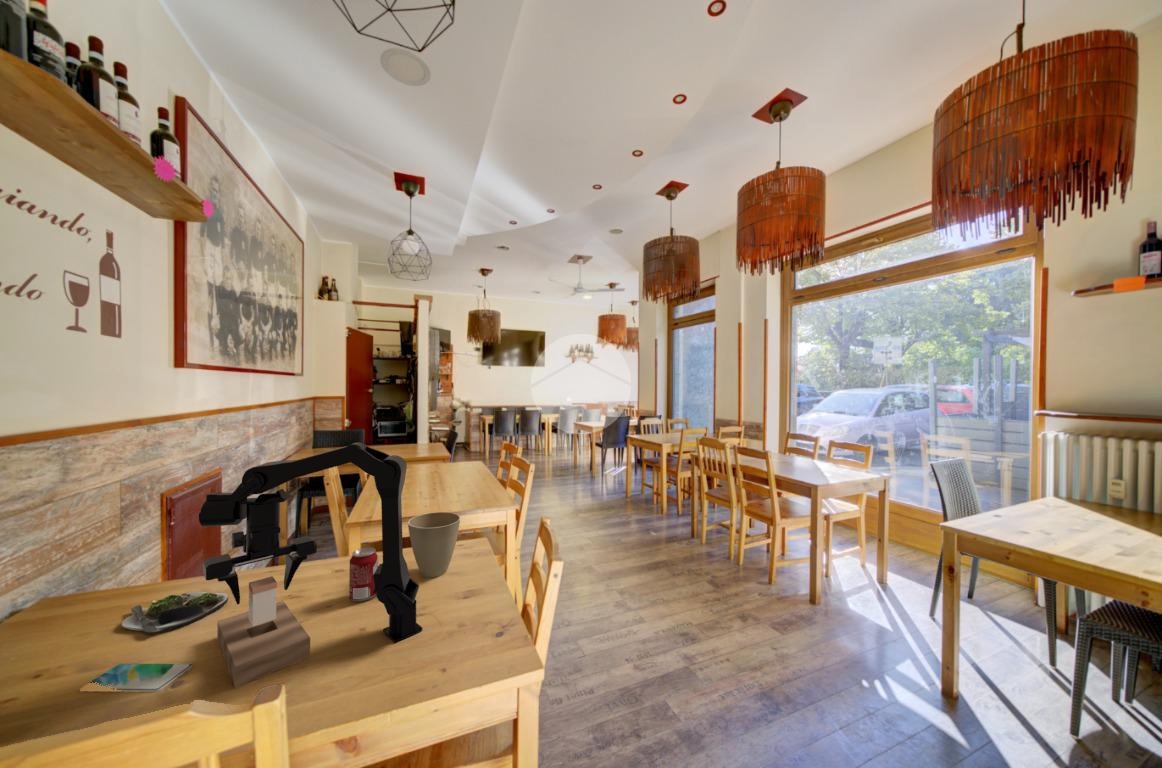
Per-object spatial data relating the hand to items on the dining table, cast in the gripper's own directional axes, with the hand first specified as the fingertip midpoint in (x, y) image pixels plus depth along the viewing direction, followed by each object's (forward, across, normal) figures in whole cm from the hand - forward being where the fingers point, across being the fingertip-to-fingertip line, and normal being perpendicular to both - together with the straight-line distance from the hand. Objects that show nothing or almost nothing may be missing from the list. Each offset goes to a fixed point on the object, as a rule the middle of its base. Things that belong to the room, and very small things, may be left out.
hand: (262, 596), depth 89 cm
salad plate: (+12, +11, -31) cm, 35 cm away
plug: (+5, 0, 0) cm, 5 cm away
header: (+11, 0, 0) cm, 11 cm away
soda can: (+11, -23, -7) cm, 27 cm away
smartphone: (+12, +18, -6) cm, 22 cm away
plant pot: (+11, -43, -7) cm, 45 cm away
